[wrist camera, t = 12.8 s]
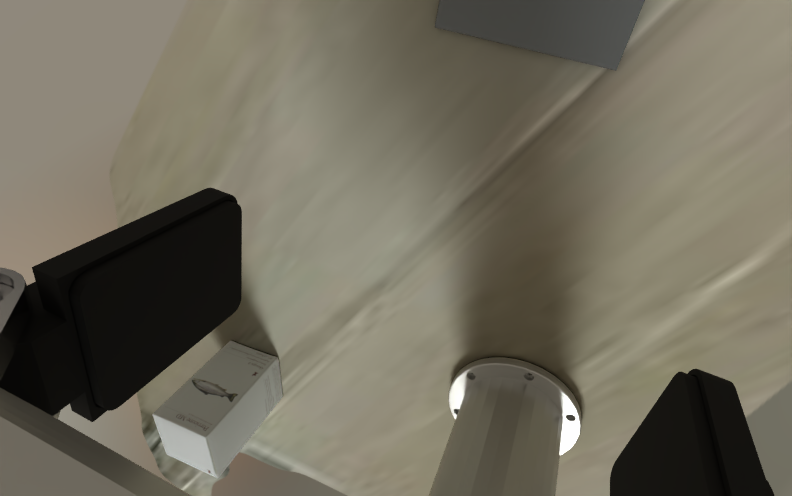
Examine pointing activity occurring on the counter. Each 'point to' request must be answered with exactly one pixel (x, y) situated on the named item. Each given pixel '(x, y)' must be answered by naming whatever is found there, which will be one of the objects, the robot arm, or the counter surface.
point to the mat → (548, 25)
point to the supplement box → (220, 408)
